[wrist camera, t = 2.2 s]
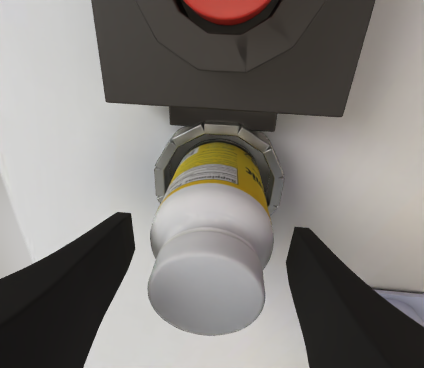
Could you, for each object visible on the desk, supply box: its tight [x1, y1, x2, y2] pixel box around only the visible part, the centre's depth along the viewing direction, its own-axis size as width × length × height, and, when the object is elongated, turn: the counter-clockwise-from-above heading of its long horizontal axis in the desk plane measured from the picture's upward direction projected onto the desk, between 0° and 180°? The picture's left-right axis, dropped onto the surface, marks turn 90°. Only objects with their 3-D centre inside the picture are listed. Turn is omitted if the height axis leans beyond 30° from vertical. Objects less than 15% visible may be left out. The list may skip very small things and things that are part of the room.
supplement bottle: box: [148, 139, 274, 336], centre depth 13 cm, size 5×5×10 cm
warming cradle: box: [154, 106, 284, 216], centre depth 16 cm, size 9×8×2 cm
